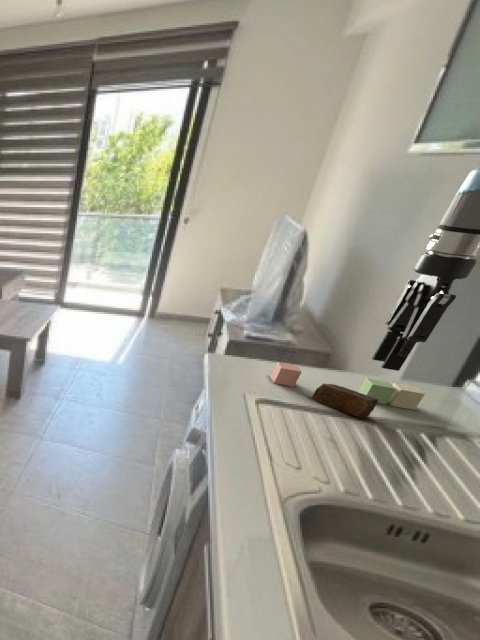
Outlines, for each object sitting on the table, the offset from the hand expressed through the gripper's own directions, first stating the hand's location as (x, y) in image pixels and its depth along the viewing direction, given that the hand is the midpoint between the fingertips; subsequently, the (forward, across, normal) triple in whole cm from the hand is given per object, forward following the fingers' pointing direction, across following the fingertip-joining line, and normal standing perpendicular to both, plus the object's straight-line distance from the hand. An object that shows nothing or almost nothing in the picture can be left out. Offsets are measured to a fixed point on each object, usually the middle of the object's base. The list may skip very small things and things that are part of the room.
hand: (385, 364), depth 104 cm
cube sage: (+15, -19, +10) cm, 26 cm away
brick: (+15, -8, 0) cm, 17 cm away
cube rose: (+15, -19, -10) cm, 26 cm away
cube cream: (+15, -19, +15) cm, 28 cm away
